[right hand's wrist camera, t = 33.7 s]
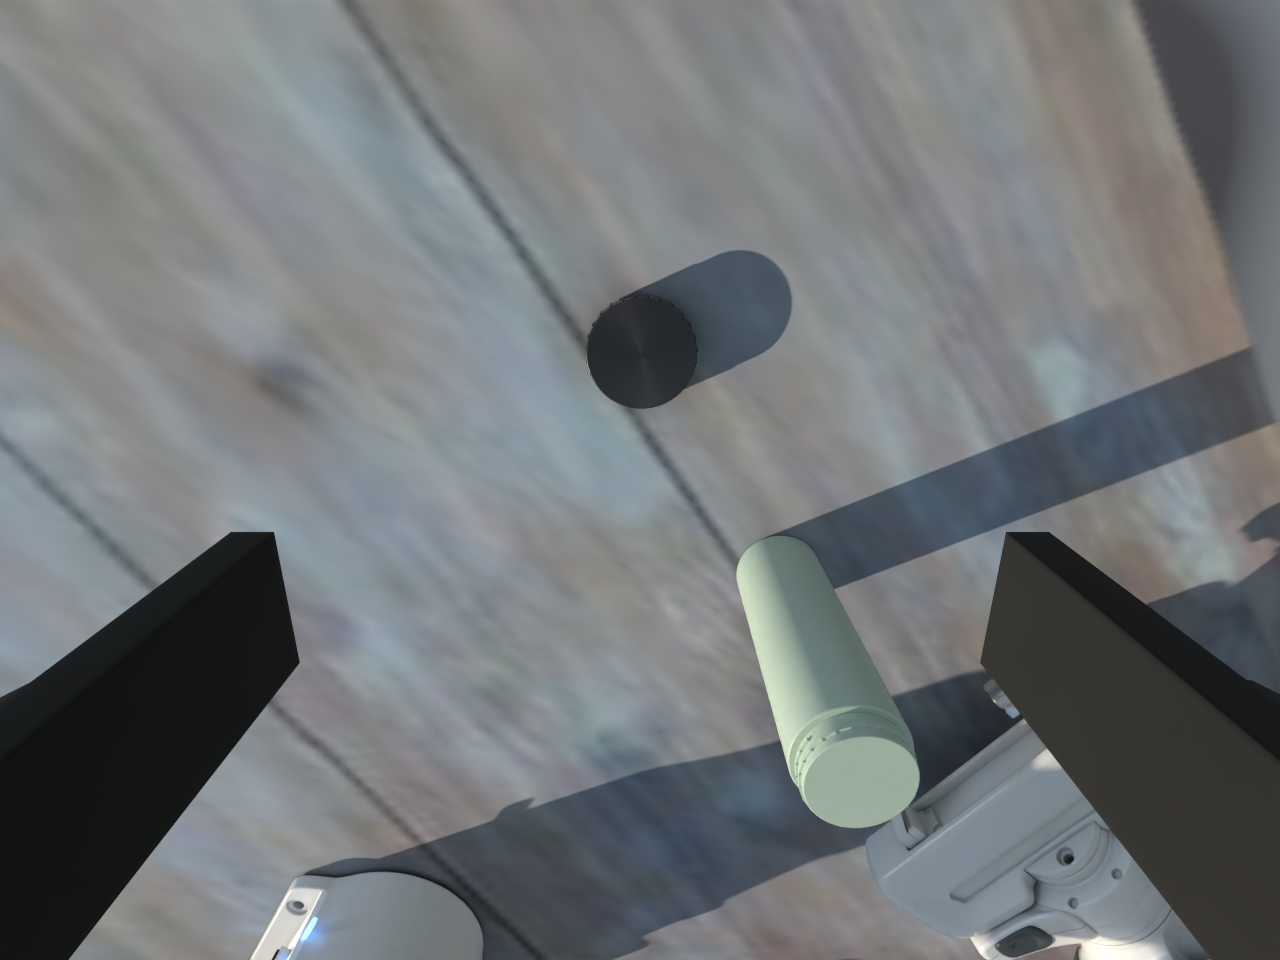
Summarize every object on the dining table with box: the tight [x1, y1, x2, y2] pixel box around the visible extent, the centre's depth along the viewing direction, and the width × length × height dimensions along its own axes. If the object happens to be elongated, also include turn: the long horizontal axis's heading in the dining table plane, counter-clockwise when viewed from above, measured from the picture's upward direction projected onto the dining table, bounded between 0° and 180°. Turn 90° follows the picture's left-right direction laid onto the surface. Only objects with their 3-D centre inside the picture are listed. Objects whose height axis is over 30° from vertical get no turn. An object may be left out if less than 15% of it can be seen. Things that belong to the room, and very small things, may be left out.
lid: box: [585, 294, 698, 409], centre depth 40 cm, size 6×6×2 cm
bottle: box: [737, 536, 920, 828], centre depth 37 cm, size 5×5×18 cm
